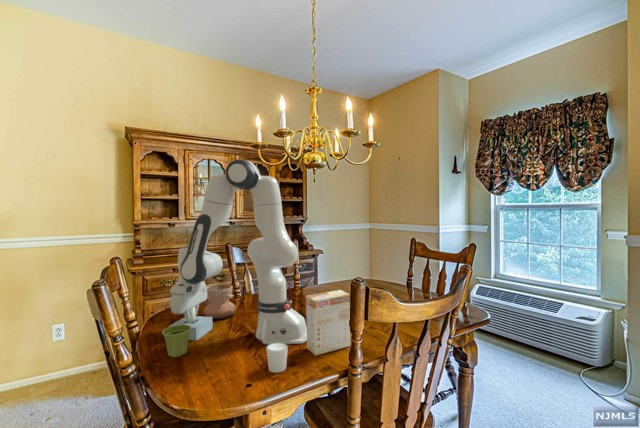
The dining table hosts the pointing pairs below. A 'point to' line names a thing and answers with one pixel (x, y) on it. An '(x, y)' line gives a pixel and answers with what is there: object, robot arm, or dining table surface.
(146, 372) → the dining table surface
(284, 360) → the shot glass
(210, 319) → the socket block
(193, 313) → the dowel
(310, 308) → the coffeecake box
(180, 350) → the plant pot
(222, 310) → the ceramic jug
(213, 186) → the robot arm
